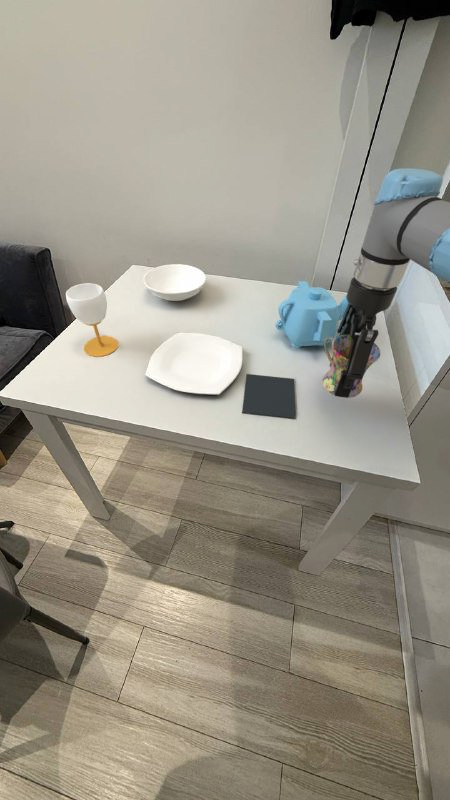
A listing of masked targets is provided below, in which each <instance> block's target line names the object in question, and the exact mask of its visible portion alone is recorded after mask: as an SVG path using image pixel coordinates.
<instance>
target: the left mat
mask: <svg viewBox="0 0 450 800" xmlns="http://www.w3.org/2000/svg"><path fill="white" fill-rule="evenodd" d="M295 383H296V381H295V378H290V377H280V376H271V375H261V374H253V373H246V376H245V383H244V391H243V392H244V393H243V401H242V410H241V413H242V414H244V415H245V414H246V415H253V416H254V415H255V416H264V417H271V418H272V417H273V418H280V419H290V420H291V419H292V420H296V419H297V412H296V411H297V408H296V384H295Z"/></svg>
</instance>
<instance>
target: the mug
mask: <svg viewBox="0 0 450 800" xmlns="http://www.w3.org/2000/svg"><path fill="white" fill-rule="evenodd" d="M328 339H330V340H332V341H331V350H332V356H331V354H330V351H329V349H328V347H329V346H328V344H327V341H328ZM351 340H352V339H351V338H350V334H347V335H341V336H337V337H336V336H335V338H332V337H328V338H326V339H325V342H324V346H323V347H324V351H325V354H326V357H327V359H328V361H329V362H330V363H331V364H332V365H330V364H329V370H328V371H327V372H326V373H325V374H324V375H323V377H322V385H323V387H324V388H325V390H326V391H327V392H328V393H330V394H332V395H333V396H335V391H336V388H337V385H338V383H339V380H340V377H341V375H342V374H341V371H343V370H346V365H347V362H348V355H349V350H350V345H351ZM332 357H333V360H332ZM380 357H381V349H380V347H379V345H377V344H376V343H375V342H374V344H373V347H372V350H371V353H370V356H369V359H368V362H367V366H366V369H365V372H364V375H363V378H362V380H358V379H356V380H355V382H354V385H353V387H352V389H351V392H350V394H349V397H341V398H343V399H351V398H355V397H357V396H359V395H360V394H361V393H362V391H363V379H364V376H365V374H366V372H367V370H368V369H369V368H370V367H371V366H372V365H373V364H374V363H376V362H378V360H379V359H380Z"/></svg>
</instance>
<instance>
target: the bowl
mask: <svg viewBox="0 0 450 800" xmlns="http://www.w3.org/2000/svg"><path fill="white" fill-rule="evenodd" d="M206 281H207V277H206V274H205V272H204V271H203V270H201V269H199V268H197V267H195V266H192V265H190V264H189V265H187V264H180V263H173V264H171V263H170V264H163V265H160V266H156V267H154V268H151V269H150V270H148V271H147V272H146V273H145V274H144V276H143V281H142V283H143V284H144V285H145V286H146V287H147V288H148V289H149V292H150V293H151V294H152V295H154V296H155V297H158V298H159V299H163V300H165V301H169V302H170V301H171V302H181V301H185V300H188V299H190V298H192V297H195V296H196V295H197V294H199V293H200V292H201V290H202V288H203V286H204V285H205V283H206Z"/></svg>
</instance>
